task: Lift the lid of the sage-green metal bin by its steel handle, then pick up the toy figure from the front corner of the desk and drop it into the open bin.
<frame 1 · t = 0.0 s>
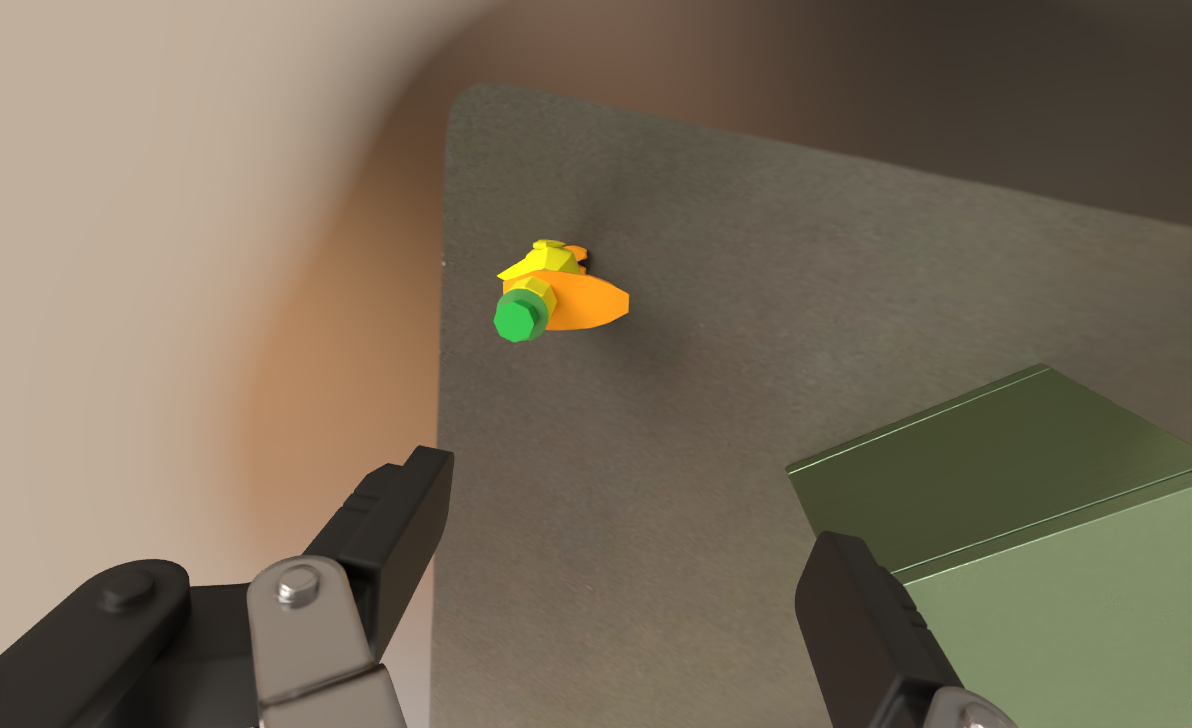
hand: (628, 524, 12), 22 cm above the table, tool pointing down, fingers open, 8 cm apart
bin: (941, 502, 37), on the table
bin lid: (1090, 699, 24), point 14 cm above the table, hinge at 0.0°
toy figure: (572, 261, 33), on the table
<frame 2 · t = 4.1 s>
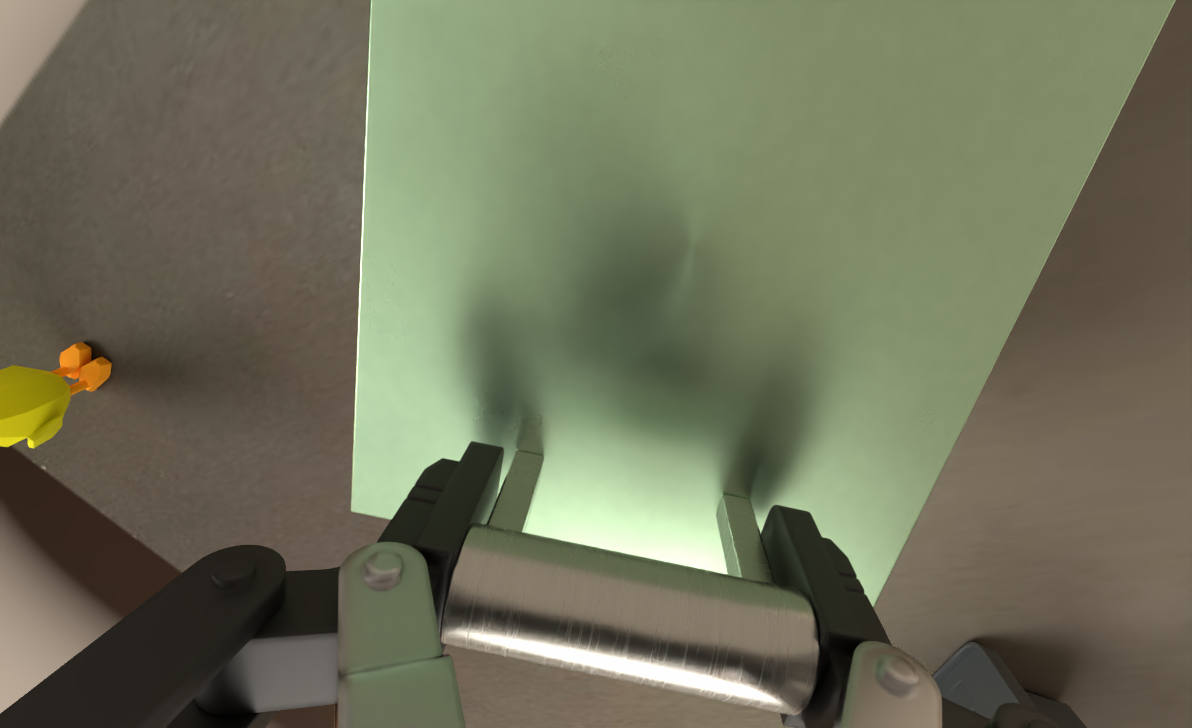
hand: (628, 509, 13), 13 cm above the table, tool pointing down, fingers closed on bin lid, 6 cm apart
bin lid: (702, 269, 10), point 14 cm above the table, hinge at -0.1°, touching gripper
toy figure: (95, 362, 27), on the table
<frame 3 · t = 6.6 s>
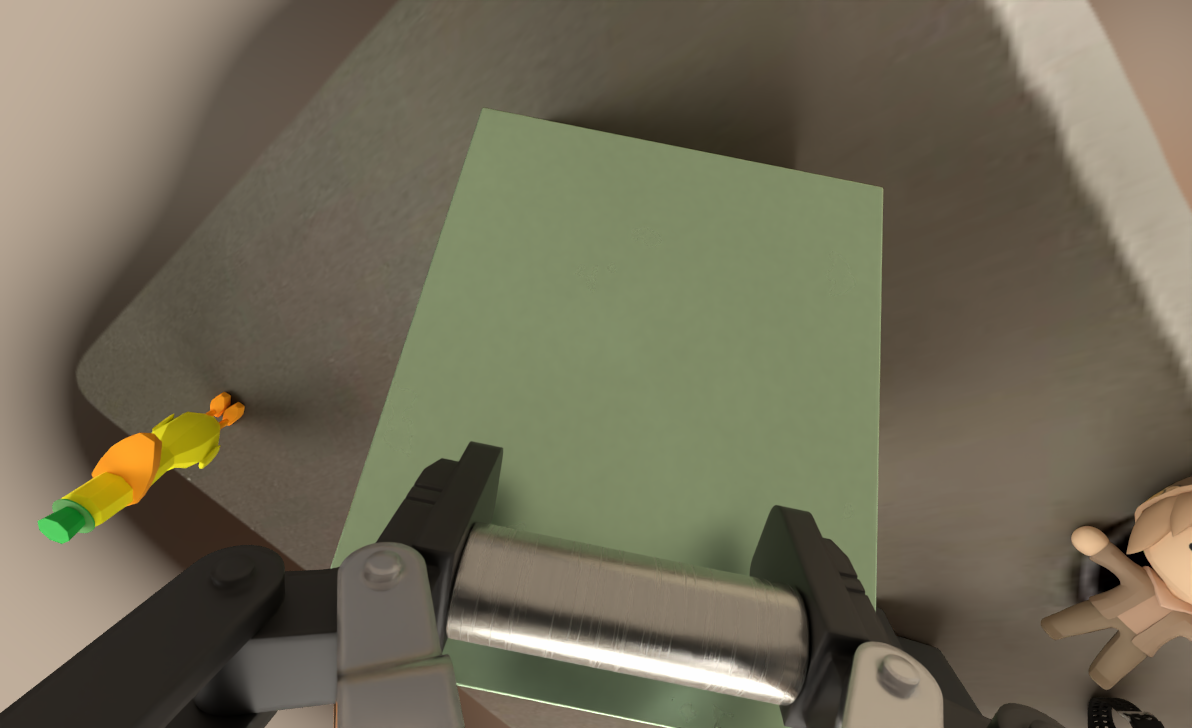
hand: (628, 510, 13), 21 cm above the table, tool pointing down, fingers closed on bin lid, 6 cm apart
action figure: (1125, 534, 36), on the table
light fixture: (918, 683, 43), on the table
smartwatch: (1102, 700, 42), on the table
bin lid: (655, 353, 14), point 19 cm above the table, hinge at 42.7°, touching gripper
toy figure: (232, 405, 38), on the table
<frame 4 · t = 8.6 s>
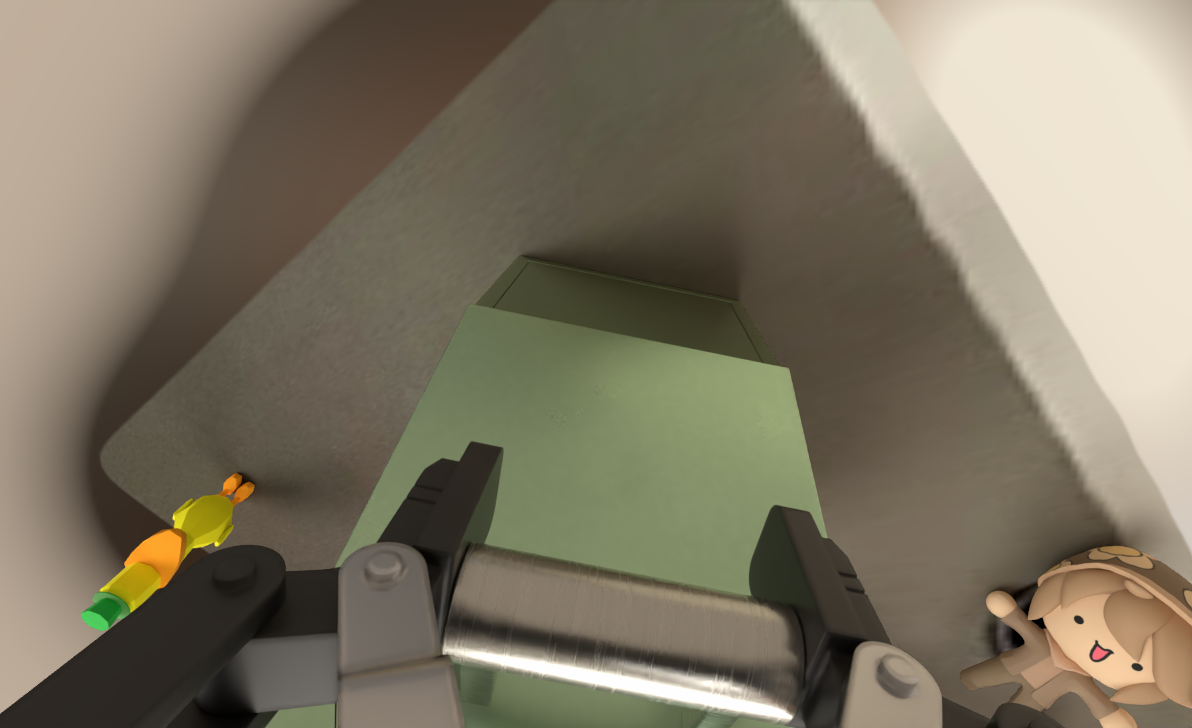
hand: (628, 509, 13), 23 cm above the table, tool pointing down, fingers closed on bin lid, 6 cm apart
action figure: (1033, 596, 42), on the table
bin: (604, 392, 37), on the table
bin lid: (625, 454, 16), point 20 cm above the table, hinge at 72.4°, touching gripper
toy figure: (243, 484, 42), on the table
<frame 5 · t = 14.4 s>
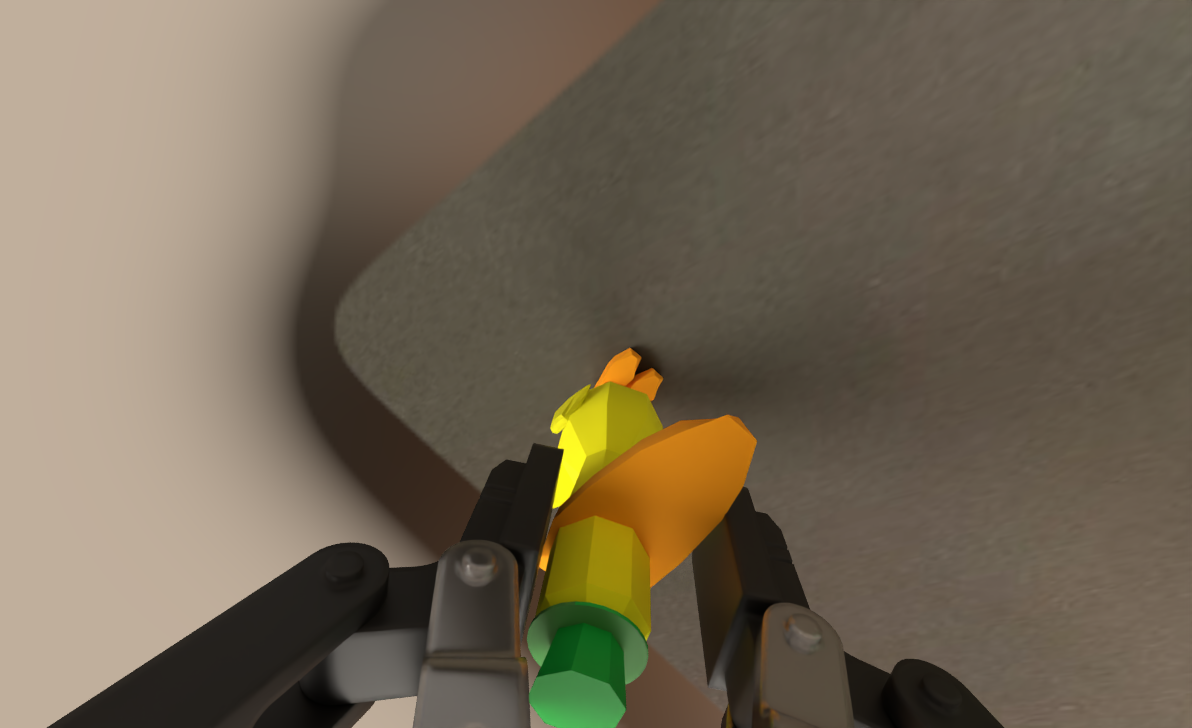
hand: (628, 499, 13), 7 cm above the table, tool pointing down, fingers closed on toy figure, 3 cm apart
toy figure: (631, 375, 20), on the table, touching gripper
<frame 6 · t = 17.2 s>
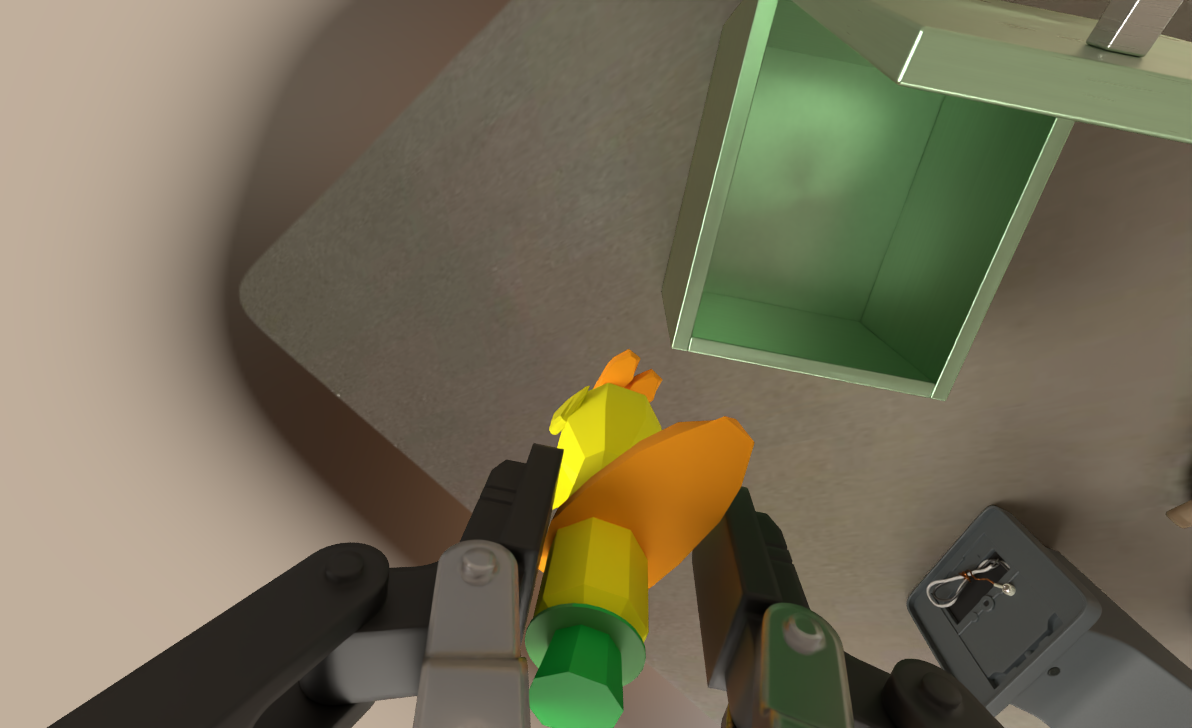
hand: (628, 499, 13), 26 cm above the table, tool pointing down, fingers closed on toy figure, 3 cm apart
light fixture: (1033, 590, 45), on the table
bin: (799, 191, 35), on the table
toy figure: (630, 377, 20), point 18 cm above the table, touching gripper
when the fingers open (17 cm above the table, at t = 20.4 s): toy figure drops 9 cm, resting on bin.
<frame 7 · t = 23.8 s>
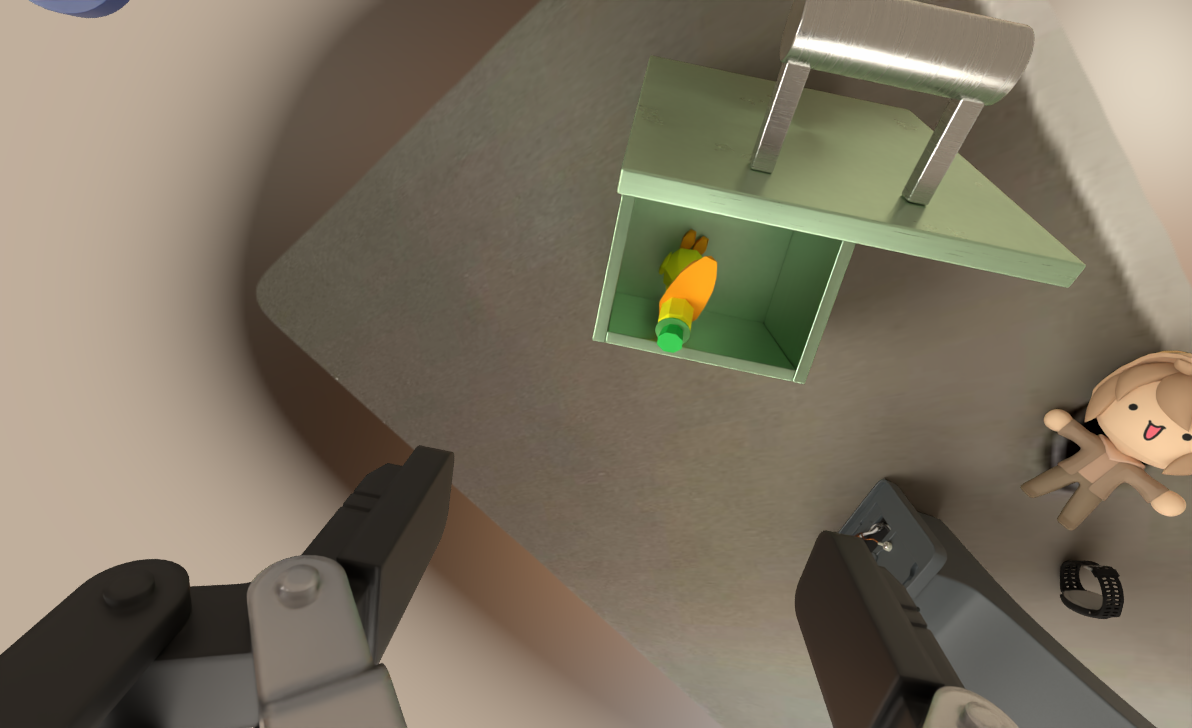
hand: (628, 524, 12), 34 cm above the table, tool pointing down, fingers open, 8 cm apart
action figure: (1086, 417, 47), on the table
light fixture: (923, 553, 52), on the table
smartwatch: (1071, 565, 52), on the table
bin: (711, 216, 43), on the table
bin lid: (829, 73, 21), point 20 cm above the table, hinge at 72.8°
toy figure: (695, 241, 42), point 1 cm above the table, touching bin
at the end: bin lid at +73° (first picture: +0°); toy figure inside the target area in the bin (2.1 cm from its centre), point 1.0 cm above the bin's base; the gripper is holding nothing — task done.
